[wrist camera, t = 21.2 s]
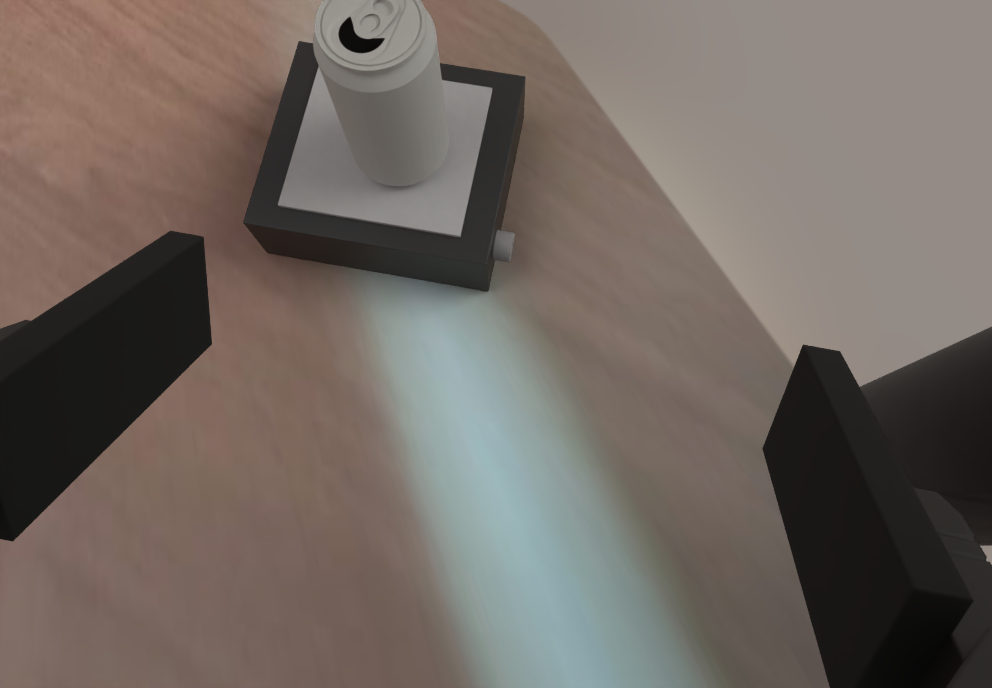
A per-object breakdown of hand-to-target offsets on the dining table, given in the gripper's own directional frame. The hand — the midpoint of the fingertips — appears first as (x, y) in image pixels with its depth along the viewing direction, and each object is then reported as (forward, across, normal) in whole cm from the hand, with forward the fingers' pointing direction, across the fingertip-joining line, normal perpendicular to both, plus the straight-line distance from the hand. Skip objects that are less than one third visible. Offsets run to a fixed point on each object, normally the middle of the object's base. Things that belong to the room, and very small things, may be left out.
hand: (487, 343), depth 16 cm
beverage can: (+33, -10, -6) cm, 35 cm away
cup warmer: (+37, -11, -9) cm, 40 cm away
